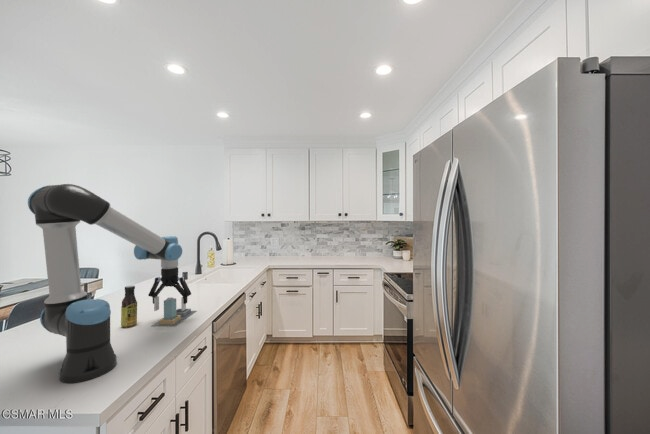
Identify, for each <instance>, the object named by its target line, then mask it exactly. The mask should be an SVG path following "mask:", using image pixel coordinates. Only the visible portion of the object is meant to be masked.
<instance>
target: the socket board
mask: <svg viewBox="0 0 650 434" xmlns="http://www.w3.org/2000/svg"><path fill="white" fill-rule="evenodd" d="M196 312H198V310H192V308H186V309H185V310H184V311H182V308H176V318H174V319H173V320H164V316H163V317H162V318H160V319H159V320H158V321H157V322H155V323H154V324H152V325H150V327H152V328H153V327H159V328H160V327H163V328H164V327H167V328H169V327H177V326H178V325H180V324H181V323H183V322H184V321H185V320H187V319H188V318H190V317H191V316H192V315H194V314H196Z"/></svg>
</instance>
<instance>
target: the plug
mask: <svg viewBox="0 0 650 434" xmlns="http://www.w3.org/2000/svg"><path fill="white" fill-rule="evenodd" d="M176 310H177V298H174V297H167V298H166V299H164V300H163V317H164V320H173V319H174V318H176Z"/></svg>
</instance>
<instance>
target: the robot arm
mask: <svg viewBox="0 0 650 434" xmlns="http://www.w3.org/2000/svg"><path fill="white" fill-rule="evenodd" d="M28 196H29V197H28V199H27V206H28V207H27V208H28V209H29V210H30V212H31V213H32V214H33V215H34V219H35V225H36V226H37V227H39V228H41V229H42V235H43V236H42V237H43V246H44V254H45V265H46V274H47V284H48V293H49V296H48V297H47V298H45V300H44V301H43V304H44V309H42V312H41V313H40V317H39V318H40V319H39V321H40V324H41V326H42V327H43V328H44V329H45V330H46V331H48V332H49V333H53V334H54V335H59V336H61V337H62V336H63V337H65V340H66V341H65V343H66V346H65V347H66V354H65V357H64V358H63V362H62V364H61V367H60V370H59V372H58V373H59V374H58V378H59V381H60V382H62V383H66V384H67V383H68V384H69V383H70V384H72V383H79V382H85V381H89V380H92V379H95V378H98V377H100V376H103V375H105V374H107V373H108V372H110V371H111V370H113V369H114V368H115V367H116V365H117V362H118V361H117V358H118V357H117V355H116V354H115V350H114V348H113V346H112V343H111V306H110V303H109V302H108V301H106V300H105V299H99V298H96V299H94V298H89V297H88V292H86V291H85V290H83V289H82V284H81V283H82V282H81V272H80V262H79V261H80V259H79V252H78V249H79V248H78V240H77V229H76V227H77V225H78V224H80V223H81V222H84V223H86V224H87V225H90V226H91V225H96V226H99V227H100V228H102V229H104V230H106V231H108V232H110V233H111V234H114V235H115V236H118V237H120V238H122V239H123V240H126V241H128V242H129V243H132V244H134V248H133V255H134V257H135V258H136V260H140V261H141V260H144V261H145V260H150V259H151V260H160V268H161V269H160V276H161V277H160V276H157V277H155V278H154V281H153V284H152V286H151V288H150V291H149V293H148V294H147V295H148V297H151V298H152V305H154V306H153V311H154V312H156V311H159V310H160V296H159V294H160V293H161V292H162V291H163V289H164V288H166V287H167V288H168V287H173V288H175V290H177V292H179V294H180V295H181V296H182V297H181V299H180V300H181V303H180V304H181V305H180V306H181V307H180V309H182V311H184V310H185V309H187V304H188V297H189V296H191V295H192V292H191V290H190V288H189V285H188V284H187V282H186V277H185V276H181V277H179V259H180V258H181V257H182V255H183V247H182V246H181V245H180V244H179V240H178V237H177V236H172V235H170V236H160V235H158V234H156V233H154V232H153V231H151V230H149V229H148V228H146V227H144V226H143V225H141V224H139V223H138V222H136V221H135V220H133V219H131V218H130V217H128V216H127V215H125V214H123V213H121V212H119V211H118V210H116V209H115V208H113V207H111V206H112V205H111V203H110V202H108V201H107V200H105V199H103V198H102V197H101V196H99V195H97V194H96V193H94V192H92V191H90V190H88V189H87V188H84V187H82V186H80V185H76V184H73V183H71V184H70V183H66V184H65V183H64V184H52V185H51V184H49V185H44V186H42V187H39V188H37V189H36V190H34V191H33V192H31V194H30V195H28ZM160 282H161V284H160ZM159 284H160V285H159Z"/></svg>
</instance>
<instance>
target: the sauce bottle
mask: <svg viewBox="0 0 650 434" xmlns="http://www.w3.org/2000/svg"><path fill="white" fill-rule="evenodd" d="M135 289H136V286H135V285H127V286H124V298H123V299H122V300H121V307H120V308H121V309H120V310H121V311H120V313H121V314H120V315H121V317H120V318H121V320H120V326H121V327H120V328H121V329H131V328H133V327H135V326H137V324H138V301H137V299H136V296H135Z"/></svg>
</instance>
